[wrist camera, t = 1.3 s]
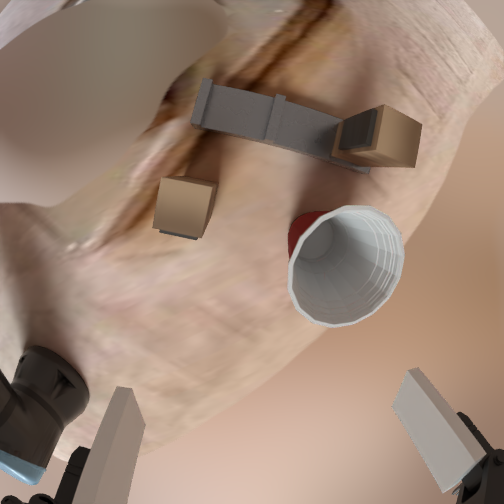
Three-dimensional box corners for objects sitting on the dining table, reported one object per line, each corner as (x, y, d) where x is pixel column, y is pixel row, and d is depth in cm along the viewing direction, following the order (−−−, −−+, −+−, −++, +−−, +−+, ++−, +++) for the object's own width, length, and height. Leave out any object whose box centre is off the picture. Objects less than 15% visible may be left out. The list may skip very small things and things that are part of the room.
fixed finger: (327, 154, 28) (370, 147, 18) (334, 121, 27) (379, 101, 17) (362, 166, 28) (414, 167, 19) (369, 134, 27) (422, 124, 18)
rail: (194, 128, 28) (190, 122, 24) (206, 88, 26) (203, 78, 23) (361, 173, 30) (375, 174, 27) (369, 135, 29) (384, 132, 26)
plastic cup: (298, 297, 34) (327, 353, 23) (248, 227, 31) (258, 259, 20) (367, 247, 33) (422, 282, 22) (325, 174, 30) (376, 177, 19)
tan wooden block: (183, 176, 29) (161, 177, 20) (218, 183, 30) (212, 187, 20) (175, 215, 30) (151, 234, 21) (209, 222, 31) (200, 244, 21)
